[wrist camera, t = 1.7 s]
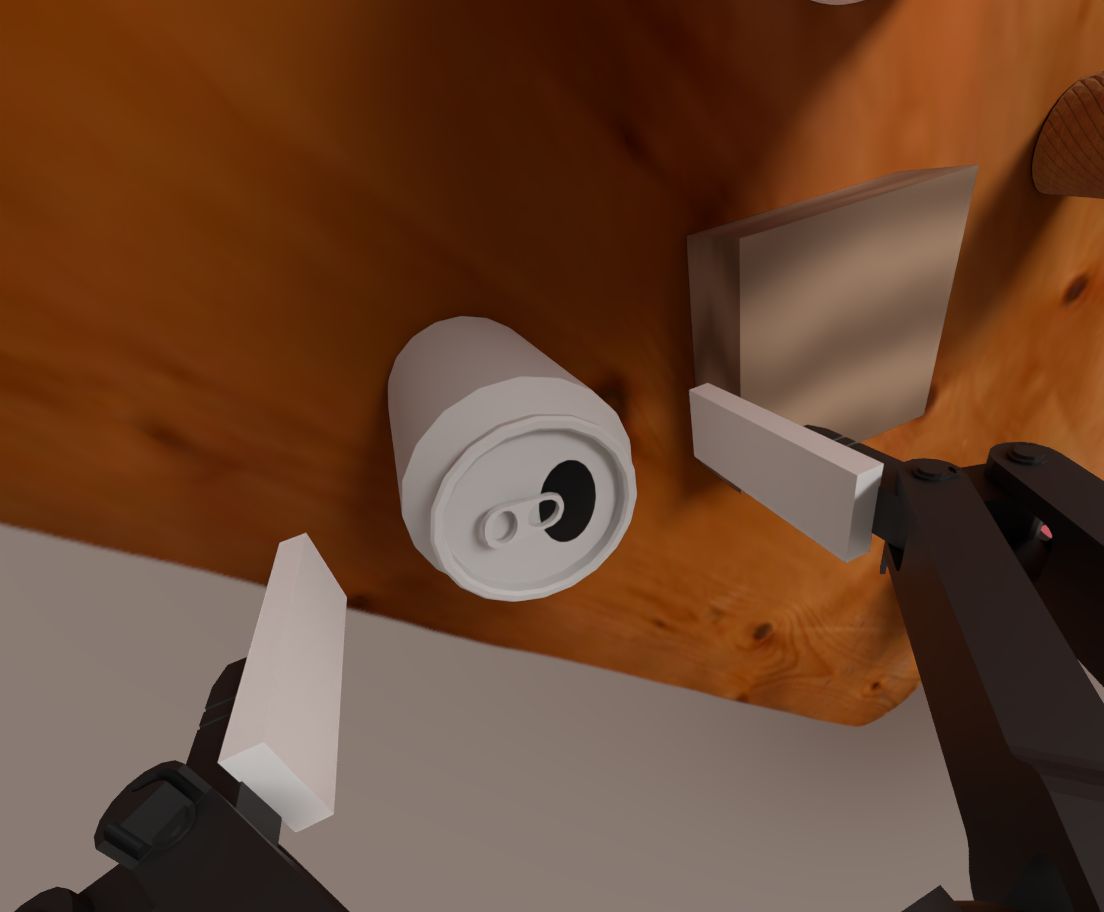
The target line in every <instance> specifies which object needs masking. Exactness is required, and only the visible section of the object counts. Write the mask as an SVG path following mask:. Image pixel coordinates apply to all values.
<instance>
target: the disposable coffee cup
mask: <svg viewBox="0 0 1104 912" xmlns="http://www.w3.org/2000/svg"><path fill="white" fill-rule="evenodd" d="M1032 177H1033V181H1034V184H1035V187H1036V188H1037V190H1038V191H1040V192H1041V193H1043V194H1051V195H1065V196H1077V197H1089V198H1101V199H1104V71H1103V72H1100V73H1096V74H1091V75H1089V76H1086V77H1084V78H1082V79H1080V80H1079V81H1077V82H1076V83H1075V84H1074V85H1073V86H1072V87H1071V88H1070V89H1069V90H1067V91H1066V93H1065V94H1064V95H1063V96H1062V97H1061V98H1060V100H1059V101H1058V103H1057V104H1056V105H1055V107H1054V108H1053V110H1052V111H1051V113H1050V115H1049V117H1048V119H1047V121H1046V123H1045V124H1044V126H1043V129H1042V131H1041V133H1040V136H1039V139H1038V142H1037V145H1036V148H1035V152H1034V157H1033V164H1032Z"/></svg>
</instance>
